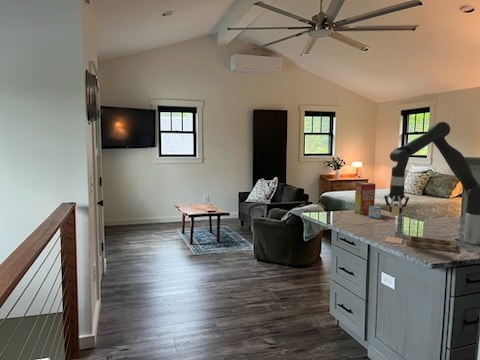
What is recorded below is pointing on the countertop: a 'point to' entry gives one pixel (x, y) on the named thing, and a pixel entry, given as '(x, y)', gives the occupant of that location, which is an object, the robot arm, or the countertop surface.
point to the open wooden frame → (431, 246)
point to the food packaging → (364, 197)
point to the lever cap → (395, 209)
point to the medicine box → (375, 212)
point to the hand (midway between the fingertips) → (395, 213)
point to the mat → (394, 240)
